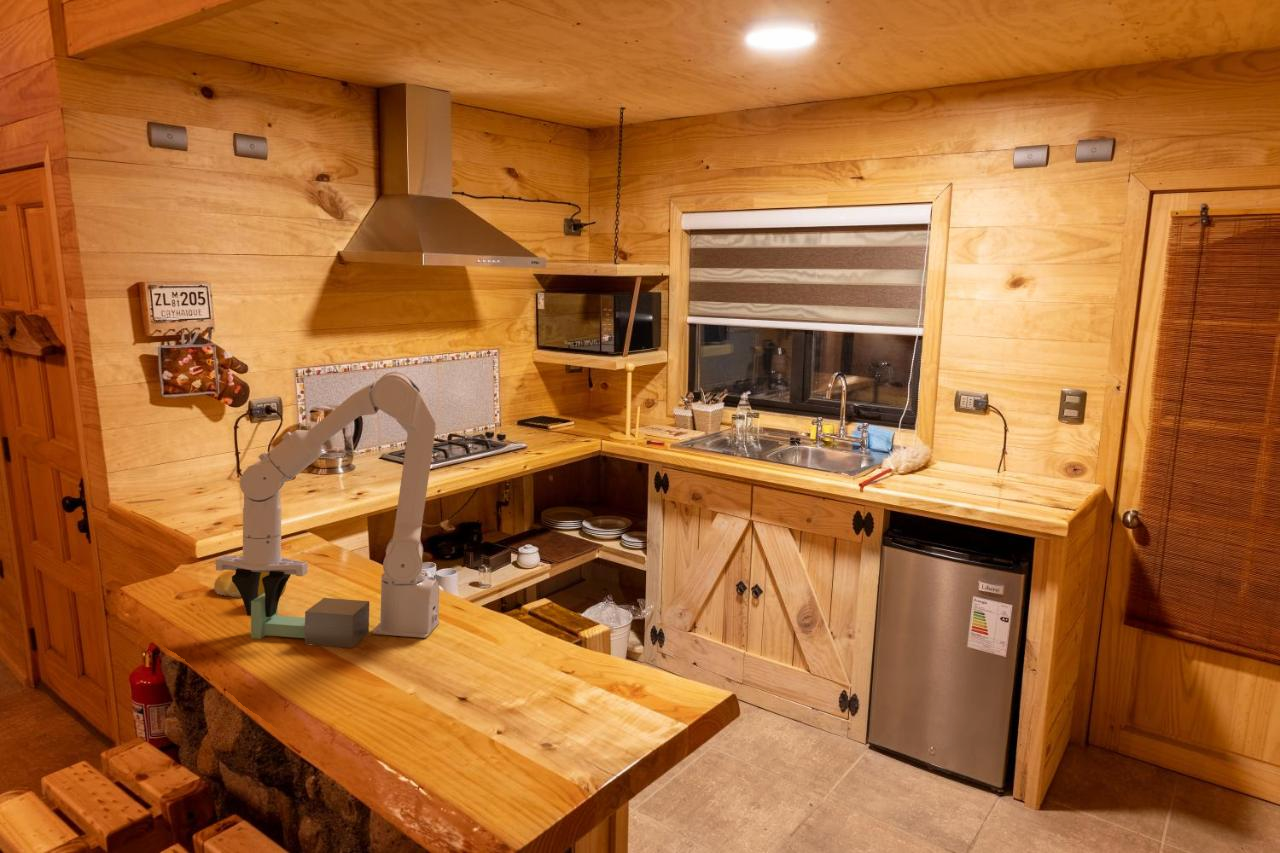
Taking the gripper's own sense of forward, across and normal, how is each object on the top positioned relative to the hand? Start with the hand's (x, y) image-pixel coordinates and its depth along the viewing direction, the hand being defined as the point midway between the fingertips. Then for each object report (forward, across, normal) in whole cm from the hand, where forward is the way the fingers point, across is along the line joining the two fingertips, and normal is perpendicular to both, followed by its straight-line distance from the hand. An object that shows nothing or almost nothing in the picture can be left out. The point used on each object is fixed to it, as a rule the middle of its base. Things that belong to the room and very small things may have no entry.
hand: (261, 614), depth 135 cm
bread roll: (+4, +14, -20) cm, 24 cm away
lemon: (+3, +6, -14) cm, 15 cm away
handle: (+3, -6, 0) cm, 6 cm away
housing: (+3, -12, 0) cm, 13 cm away
